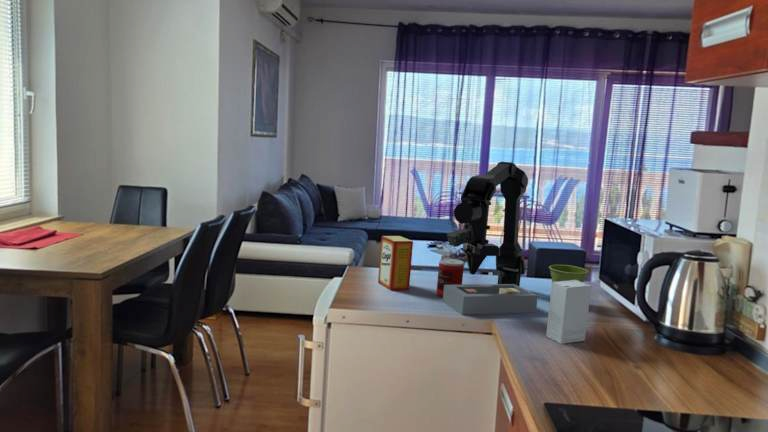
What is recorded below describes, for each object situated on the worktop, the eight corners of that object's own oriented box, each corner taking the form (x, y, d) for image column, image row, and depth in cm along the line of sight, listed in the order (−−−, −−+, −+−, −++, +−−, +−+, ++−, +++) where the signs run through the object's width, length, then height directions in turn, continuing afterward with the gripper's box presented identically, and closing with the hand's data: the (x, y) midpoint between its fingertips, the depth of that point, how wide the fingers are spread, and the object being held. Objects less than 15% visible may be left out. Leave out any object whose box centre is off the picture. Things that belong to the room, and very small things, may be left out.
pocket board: (512, 300, 190) (514, 284, 189) (535, 312, 178) (537, 295, 177) (442, 301, 182) (444, 284, 181) (462, 314, 170) (463, 296, 169)
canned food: (460, 293, 193) (463, 259, 192) (461, 300, 185) (464, 264, 184) (436, 291, 194) (439, 257, 193) (436, 297, 186) (439, 262, 185)
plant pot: (548, 296, 199) (552, 262, 198) (586, 303, 194) (590, 268, 193) (541, 304, 188) (545, 268, 187) (581, 311, 183) (585, 274, 182)
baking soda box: (378, 282, 199) (381, 234, 197) (395, 282, 202) (399, 234, 200) (390, 290, 191) (394, 240, 189) (408, 289, 193) (413, 240, 191)
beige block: (511, 296, 184) (512, 287, 184) (519, 299, 181) (519, 291, 180) (498, 296, 183) (499, 288, 183) (505, 300, 179) (506, 291, 179)
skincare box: (569, 334, 159) (576, 279, 158) (586, 342, 154) (593, 285, 152) (544, 336, 156) (550, 280, 154) (560, 344, 150) (567, 286, 148)
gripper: (438, 215, 180) (433, 266, 182) (467, 225, 163) (461, 282, 165) (472, 216, 184) (467, 266, 186) (503, 226, 167) (497, 282, 169)
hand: (472, 274), depth 176 cm, fingers closed
